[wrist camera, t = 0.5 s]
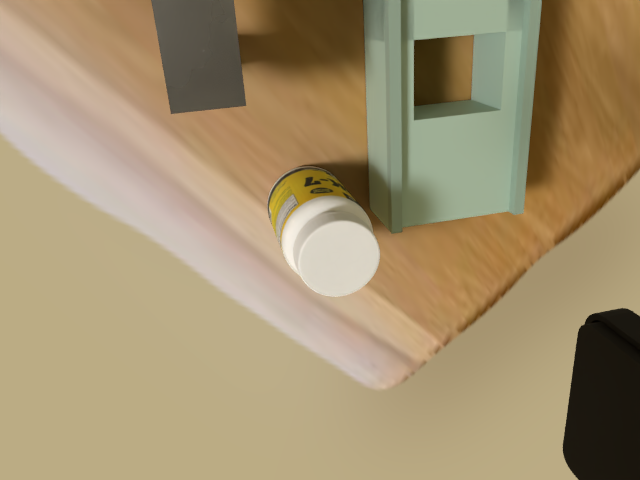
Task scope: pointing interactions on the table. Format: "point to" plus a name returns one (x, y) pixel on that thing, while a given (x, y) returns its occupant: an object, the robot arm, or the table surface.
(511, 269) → the table surface
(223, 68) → the tall taupe block
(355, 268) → the supplement bottle
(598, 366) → the robot arm
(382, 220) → the rail
